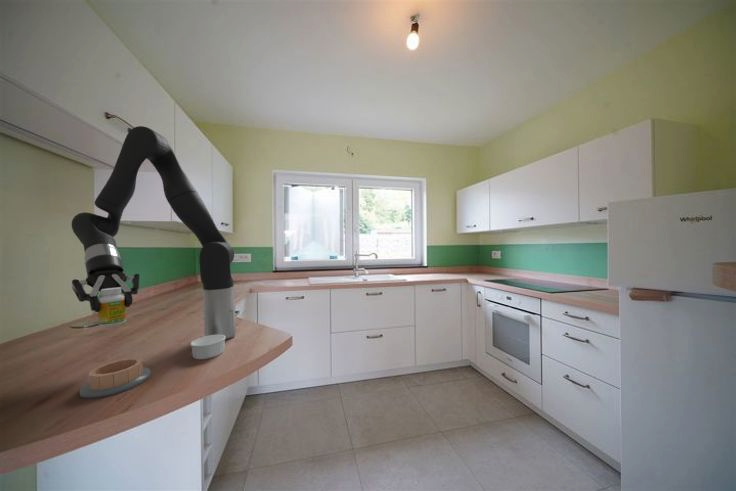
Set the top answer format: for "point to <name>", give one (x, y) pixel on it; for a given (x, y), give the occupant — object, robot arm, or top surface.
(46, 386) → the top surface
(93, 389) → the holder
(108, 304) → the supplement bottle
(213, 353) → the ramekin
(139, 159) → the robot arm
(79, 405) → the top surface
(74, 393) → the top surface
